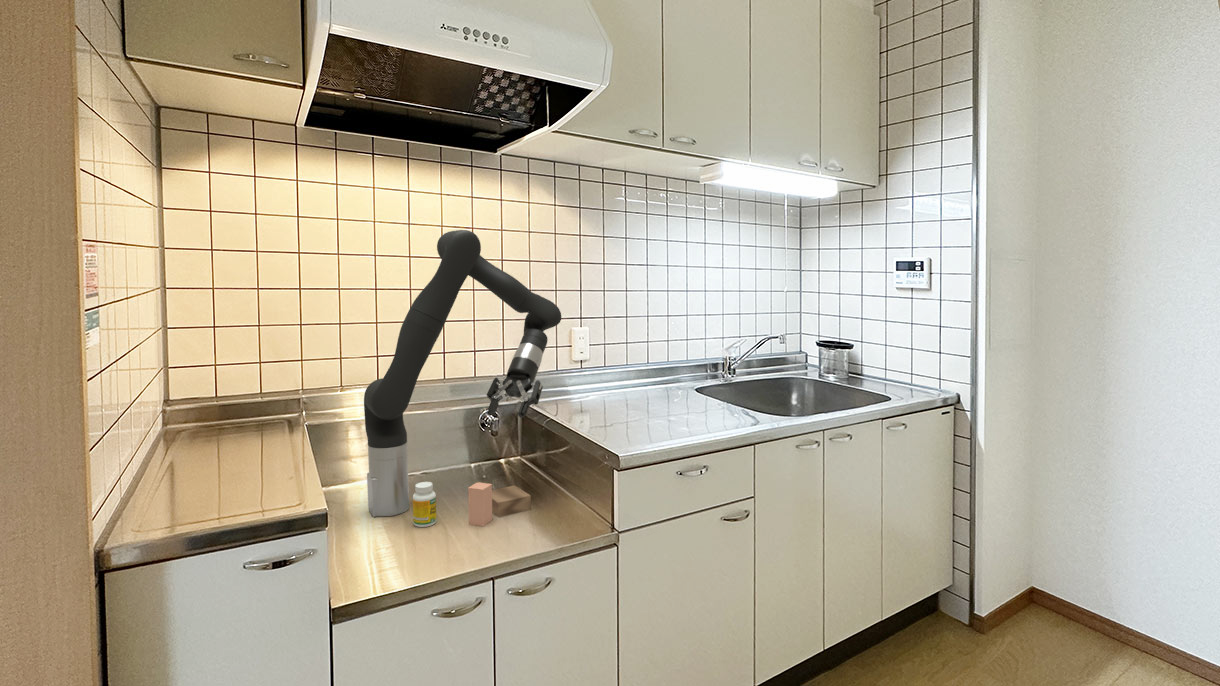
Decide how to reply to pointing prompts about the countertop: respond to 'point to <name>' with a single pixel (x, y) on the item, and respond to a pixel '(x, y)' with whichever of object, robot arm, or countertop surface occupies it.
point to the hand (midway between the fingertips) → (505, 415)
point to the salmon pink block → (480, 504)
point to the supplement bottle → (424, 505)
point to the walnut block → (510, 501)
